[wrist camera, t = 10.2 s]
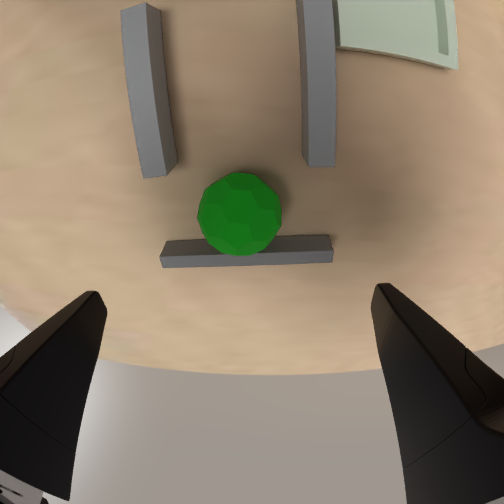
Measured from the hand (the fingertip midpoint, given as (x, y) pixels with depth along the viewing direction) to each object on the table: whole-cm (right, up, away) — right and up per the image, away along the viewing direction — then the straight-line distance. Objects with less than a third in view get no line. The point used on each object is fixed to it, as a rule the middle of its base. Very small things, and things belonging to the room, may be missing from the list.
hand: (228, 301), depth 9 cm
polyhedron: (0, +5, +11) cm, 12 cm away
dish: (+9, +17, +2) cm, 19 cm away
